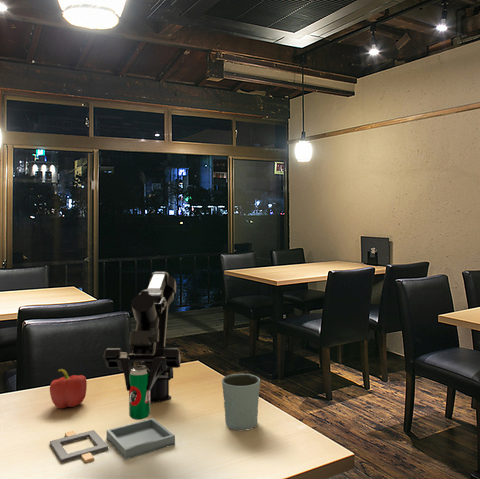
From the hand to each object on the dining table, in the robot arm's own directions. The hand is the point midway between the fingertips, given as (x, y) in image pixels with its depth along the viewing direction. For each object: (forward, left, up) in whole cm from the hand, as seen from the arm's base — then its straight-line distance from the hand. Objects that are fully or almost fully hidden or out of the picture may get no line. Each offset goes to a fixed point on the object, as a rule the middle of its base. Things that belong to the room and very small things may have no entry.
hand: (138, 390), depth 108 cm
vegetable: (+7, -35, -13) cm, 38 cm away
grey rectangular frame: (+12, -7, -13) cm, 19 cm away
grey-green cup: (-27, +5, -13) cm, 30 cm away
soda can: (-1, -1, -7) cm, 7 cm away
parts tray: (-1, -1, -13) cm, 13 cm away
